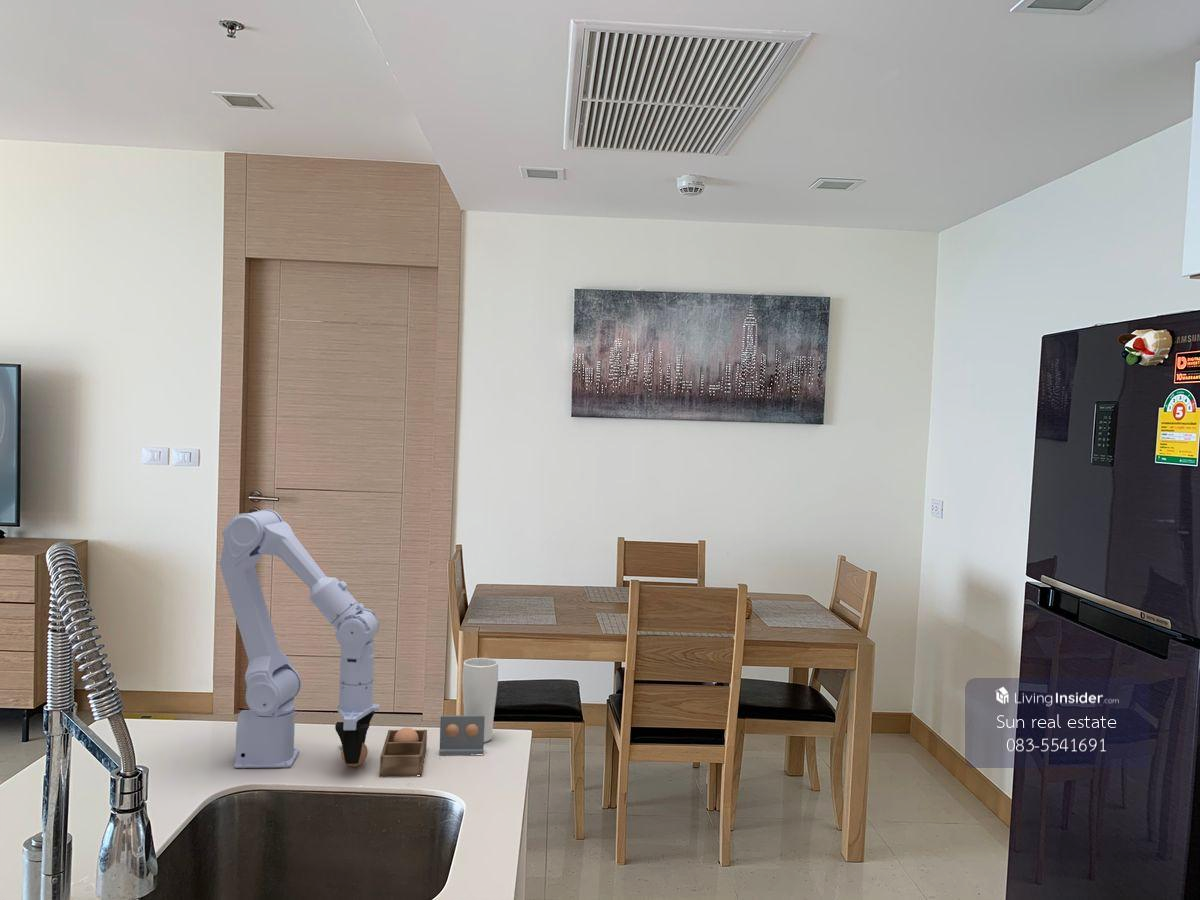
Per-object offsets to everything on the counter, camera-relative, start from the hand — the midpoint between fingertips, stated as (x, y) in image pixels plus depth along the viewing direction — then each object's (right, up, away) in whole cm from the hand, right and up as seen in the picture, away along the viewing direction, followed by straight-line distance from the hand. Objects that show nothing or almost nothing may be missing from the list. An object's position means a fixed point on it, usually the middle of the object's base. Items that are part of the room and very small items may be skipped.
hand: (354, 757), depth 160 cm
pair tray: (+8, -2, +3) cm, 9 cm away
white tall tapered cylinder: (+20, -2, +16) cm, 25 cm away
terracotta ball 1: (0, +1, 0) cm, 1 cm away
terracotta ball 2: (+8, +1, +6) cm, 10 cm away
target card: (+18, -2, +8) cm, 19 cm away
